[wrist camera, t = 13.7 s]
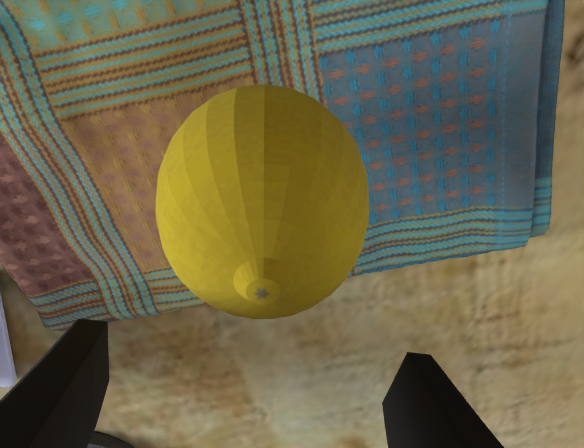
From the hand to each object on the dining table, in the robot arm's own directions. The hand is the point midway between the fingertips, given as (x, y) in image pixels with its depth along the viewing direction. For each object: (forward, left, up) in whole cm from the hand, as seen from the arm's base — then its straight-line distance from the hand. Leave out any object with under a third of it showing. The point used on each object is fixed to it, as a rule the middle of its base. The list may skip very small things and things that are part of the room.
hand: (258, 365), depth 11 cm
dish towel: (-1, +3, -10) cm, 11 cm away
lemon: (0, +3, -8) cm, 8 cm away
